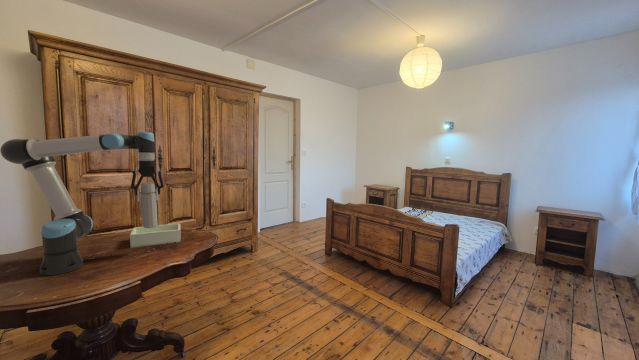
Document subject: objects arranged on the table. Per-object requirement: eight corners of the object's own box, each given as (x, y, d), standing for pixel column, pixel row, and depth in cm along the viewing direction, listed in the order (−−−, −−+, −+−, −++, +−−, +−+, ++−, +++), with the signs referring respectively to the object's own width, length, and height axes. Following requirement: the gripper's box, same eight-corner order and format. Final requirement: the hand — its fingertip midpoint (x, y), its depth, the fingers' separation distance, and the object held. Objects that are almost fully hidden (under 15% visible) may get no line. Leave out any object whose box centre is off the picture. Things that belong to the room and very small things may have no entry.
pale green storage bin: (130, 247, 156) (129, 234, 155) (134, 239, 171) (134, 227, 170) (180, 241, 169) (180, 229, 168) (180, 234, 183) (180, 223, 182)
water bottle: (161, 225, 154) (159, 182, 151) (151, 229, 146) (148, 184, 143) (146, 224, 155) (144, 182, 152) (136, 228, 147) (133, 184, 144)
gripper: (122, 160, 138) (124, 202, 140) (168, 160, 148) (169, 200, 150) (125, 159, 145) (126, 200, 147) (168, 160, 154) (169, 198, 157)
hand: (148, 200), depth 149 cm, fingers closed on water bottle, 8 cm apart
